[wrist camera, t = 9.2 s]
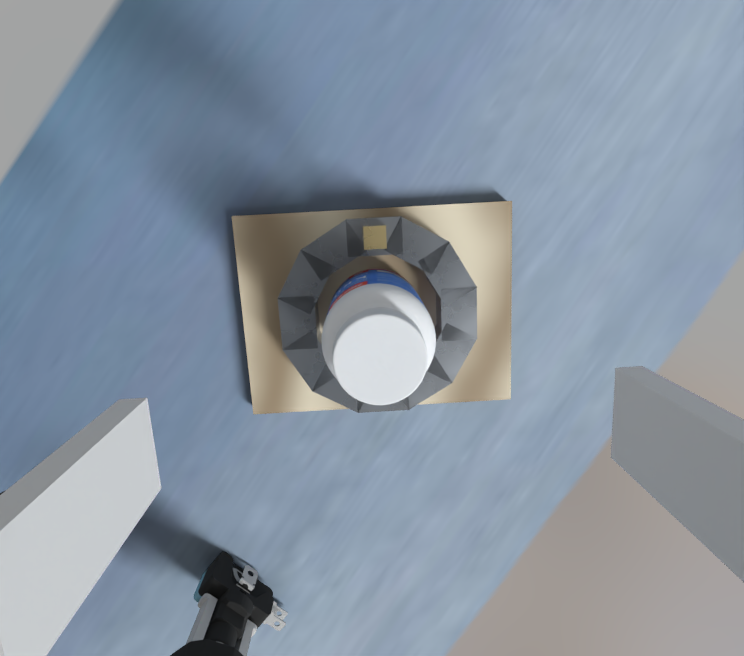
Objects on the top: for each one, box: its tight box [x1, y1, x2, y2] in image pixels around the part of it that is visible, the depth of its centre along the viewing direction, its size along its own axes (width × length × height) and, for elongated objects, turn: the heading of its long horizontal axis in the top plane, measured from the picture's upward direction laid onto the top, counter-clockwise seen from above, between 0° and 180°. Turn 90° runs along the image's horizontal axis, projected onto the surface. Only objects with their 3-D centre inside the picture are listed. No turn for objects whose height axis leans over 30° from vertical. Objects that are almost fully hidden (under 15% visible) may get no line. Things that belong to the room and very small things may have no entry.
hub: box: [277, 216, 477, 413], centre depth 29 cm, size 11×11×3 cm
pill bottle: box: [321, 268, 436, 405], centre depth 26 cm, size 6×5×10 cm
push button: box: [170, 552, 288, 656], centre depth 31 cm, size 7×5×10 cm
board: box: [232, 201, 512, 414], centre depth 31 cm, size 16×12×1 cm
